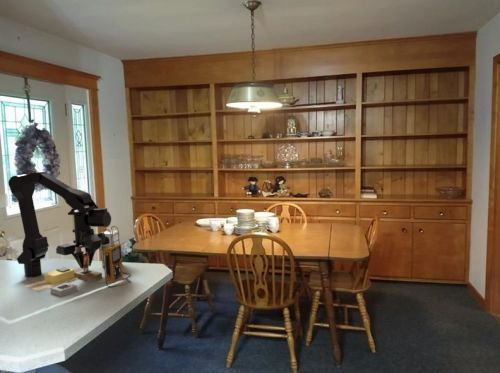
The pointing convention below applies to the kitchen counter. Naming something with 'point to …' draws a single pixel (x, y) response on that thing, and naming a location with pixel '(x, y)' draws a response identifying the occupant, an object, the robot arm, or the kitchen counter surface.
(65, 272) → the block
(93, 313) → the kitchen counter surface
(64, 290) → the awl holder
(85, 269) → the awl
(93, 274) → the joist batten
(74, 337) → the kitchen counter surface
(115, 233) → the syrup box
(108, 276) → the multimeter
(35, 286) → the subfloor panel
